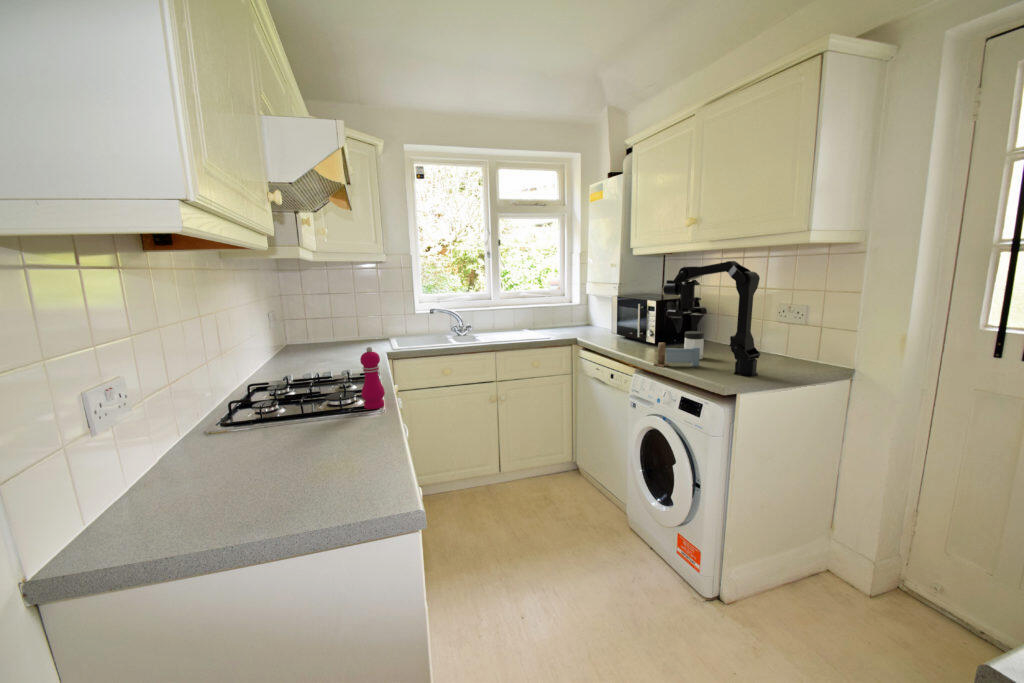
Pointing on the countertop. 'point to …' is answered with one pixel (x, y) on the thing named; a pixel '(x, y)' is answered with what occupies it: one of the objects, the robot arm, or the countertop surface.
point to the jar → (694, 341)
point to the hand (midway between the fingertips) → (686, 331)
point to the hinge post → (661, 355)
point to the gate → (683, 355)
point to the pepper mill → (372, 381)
